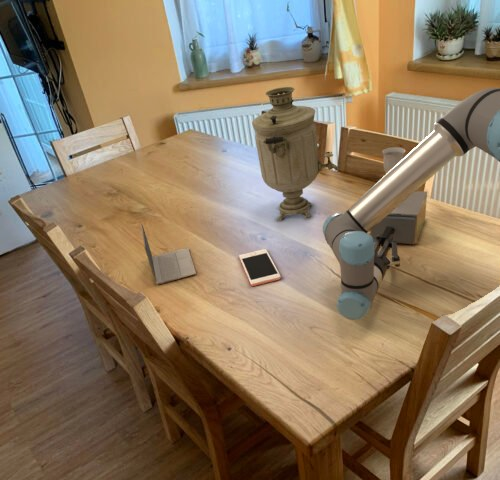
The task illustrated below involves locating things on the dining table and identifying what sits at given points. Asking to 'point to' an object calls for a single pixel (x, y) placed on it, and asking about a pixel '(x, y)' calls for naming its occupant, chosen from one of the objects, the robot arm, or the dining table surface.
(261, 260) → the cell phone
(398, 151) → the chalice
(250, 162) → the dining table surface
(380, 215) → the robot arm
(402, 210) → the cabinet
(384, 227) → the drawer
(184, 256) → the laptop
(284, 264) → the dining table surface
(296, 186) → the samovar
